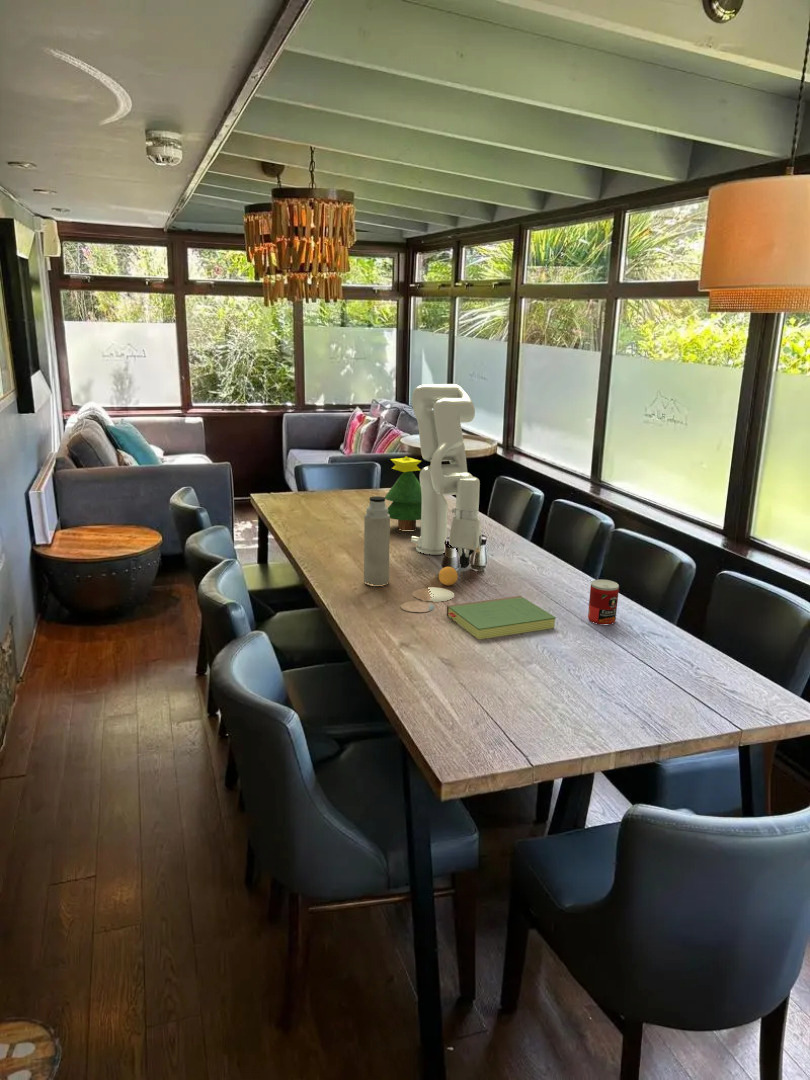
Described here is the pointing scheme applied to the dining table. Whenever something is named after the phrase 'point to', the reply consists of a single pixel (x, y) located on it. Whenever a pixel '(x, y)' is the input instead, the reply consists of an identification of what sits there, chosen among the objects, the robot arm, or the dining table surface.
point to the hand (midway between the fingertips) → (464, 566)
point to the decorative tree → (405, 494)
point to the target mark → (440, 594)
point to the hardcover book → (500, 617)
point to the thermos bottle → (376, 542)
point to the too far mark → (431, 607)
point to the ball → (448, 576)
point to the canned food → (603, 601)
